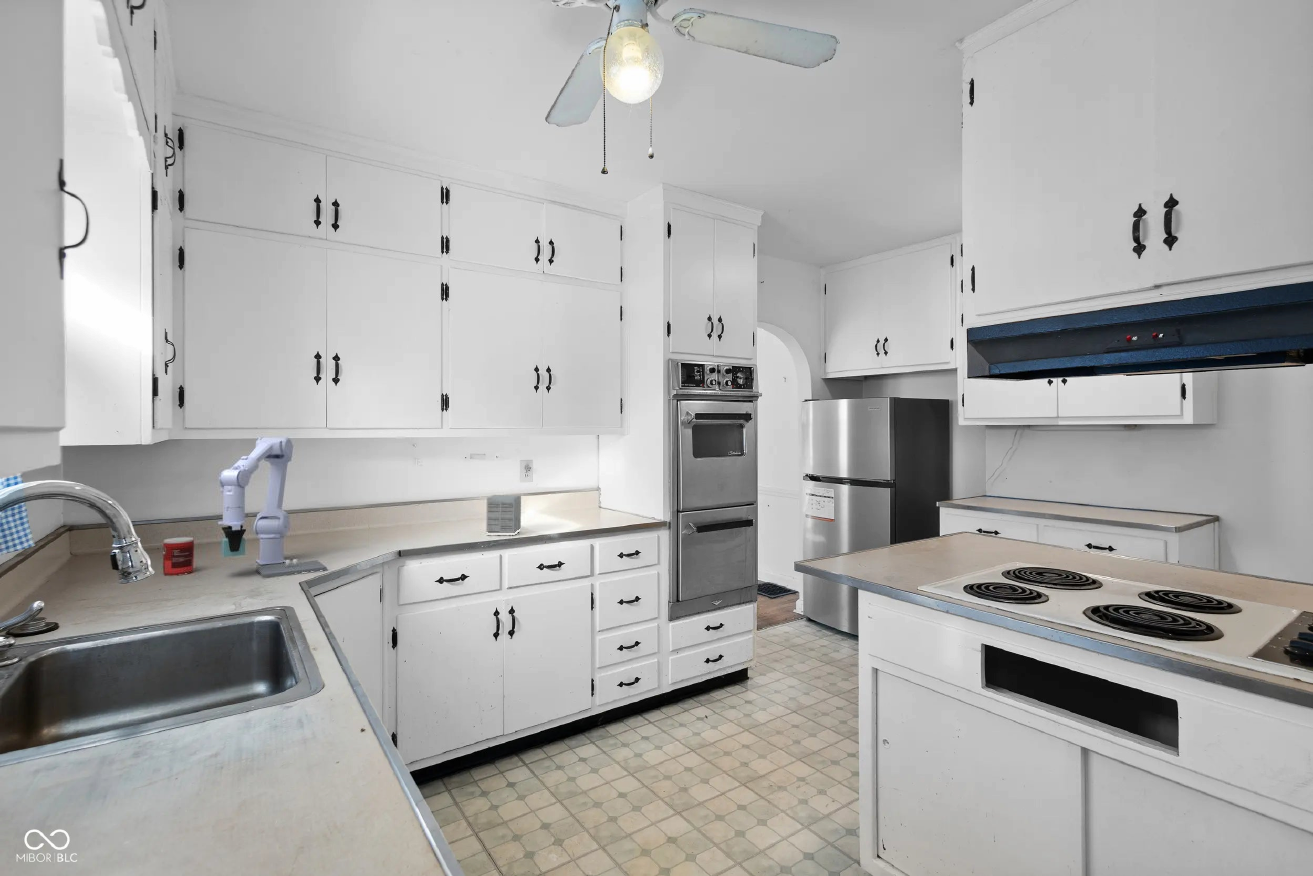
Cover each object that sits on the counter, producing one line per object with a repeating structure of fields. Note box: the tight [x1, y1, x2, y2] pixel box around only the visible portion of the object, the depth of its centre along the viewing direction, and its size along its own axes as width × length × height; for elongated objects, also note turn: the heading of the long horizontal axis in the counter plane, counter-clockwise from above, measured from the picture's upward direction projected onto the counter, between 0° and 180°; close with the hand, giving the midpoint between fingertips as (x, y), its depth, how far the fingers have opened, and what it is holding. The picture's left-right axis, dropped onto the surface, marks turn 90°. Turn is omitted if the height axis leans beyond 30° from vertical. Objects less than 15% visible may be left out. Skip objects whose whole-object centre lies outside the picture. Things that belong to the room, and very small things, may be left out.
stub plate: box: [256, 558, 328, 579], centre depth 204 cm, size 14×18×4 cm
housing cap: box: [221, 536, 246, 558], centre depth 194 cm, size 6×6×5 cm
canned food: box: [162, 536, 195, 576], centre depth 198 cm, size 8×8×11 cm
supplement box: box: [485, 494, 522, 533], centre depth 285 cm, size 13×13×18 cm
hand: (233, 550), depth 194 cm, fingers closed on housing cap, 6 cm apart
